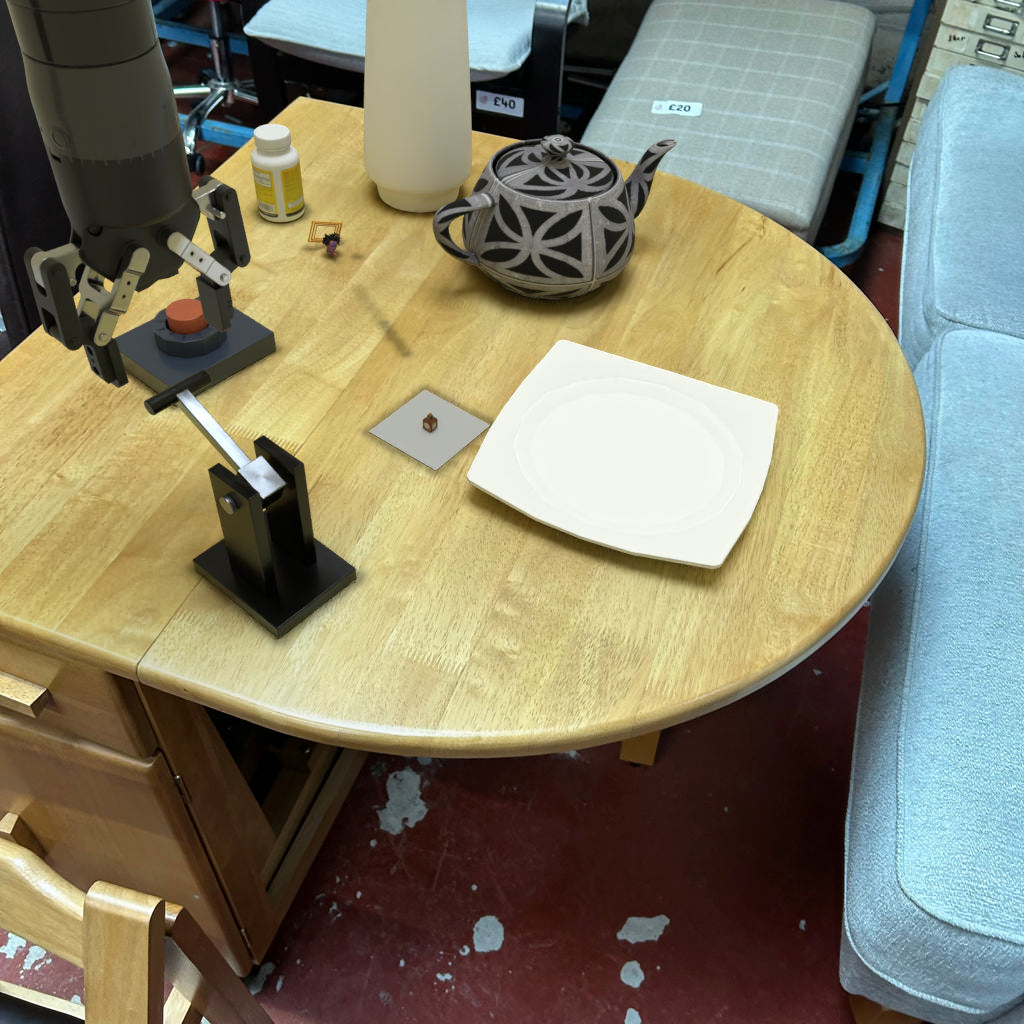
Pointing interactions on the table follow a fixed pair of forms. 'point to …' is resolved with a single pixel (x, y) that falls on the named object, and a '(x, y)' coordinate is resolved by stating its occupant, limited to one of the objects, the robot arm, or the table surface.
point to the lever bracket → (271, 547)
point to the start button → (185, 316)
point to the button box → (192, 350)
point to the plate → (629, 456)
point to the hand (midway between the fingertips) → (168, 352)
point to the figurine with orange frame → (328, 240)
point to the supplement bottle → (277, 174)
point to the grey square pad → (429, 429)
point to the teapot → (551, 216)
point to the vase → (417, 101)
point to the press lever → (219, 436)
